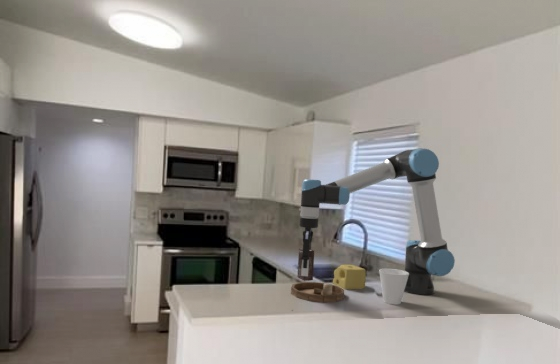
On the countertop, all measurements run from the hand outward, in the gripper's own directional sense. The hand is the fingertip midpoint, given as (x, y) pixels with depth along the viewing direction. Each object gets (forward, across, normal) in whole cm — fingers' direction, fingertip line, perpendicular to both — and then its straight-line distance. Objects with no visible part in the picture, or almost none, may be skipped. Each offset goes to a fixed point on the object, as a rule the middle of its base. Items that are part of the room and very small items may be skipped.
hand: (305, 273), depth 173 cm
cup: (+9, -5, +36) cm, 37 cm away
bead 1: (+8, -4, +9) cm, 13 cm away
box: (+2, 0, 0) cm, 2 cm away
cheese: (+9, -20, +18) cm, 29 cm away
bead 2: (+8, +4, +9) cm, 13 cm away
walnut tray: (+9, 0, +6) cm, 11 cm away
